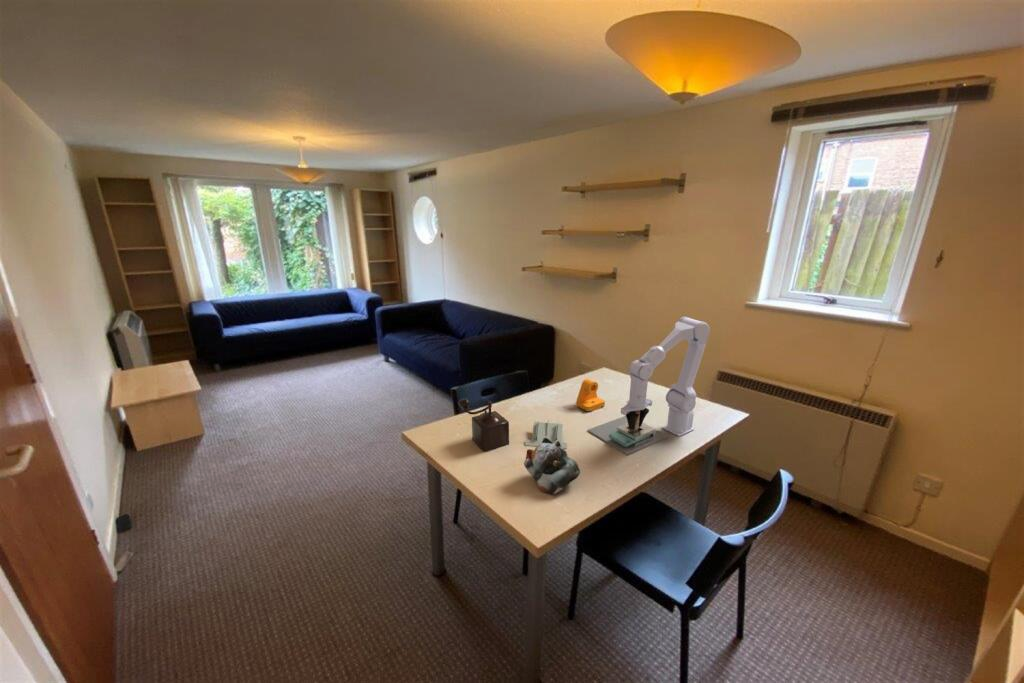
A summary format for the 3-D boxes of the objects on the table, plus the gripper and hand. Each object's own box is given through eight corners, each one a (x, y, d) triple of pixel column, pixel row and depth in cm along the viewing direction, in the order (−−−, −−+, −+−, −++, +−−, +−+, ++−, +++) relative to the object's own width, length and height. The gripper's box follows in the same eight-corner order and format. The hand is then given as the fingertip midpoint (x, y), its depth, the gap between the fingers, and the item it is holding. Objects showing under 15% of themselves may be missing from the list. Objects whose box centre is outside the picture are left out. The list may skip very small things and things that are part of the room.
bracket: (587, 413, 168) (589, 387, 165) (576, 406, 174) (577, 381, 171) (605, 406, 174) (607, 381, 171) (593, 400, 180) (595, 376, 176)
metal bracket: (529, 416, 154) (568, 419, 151) (529, 427, 157) (567, 430, 155) (524, 444, 142) (566, 448, 140) (525, 455, 145) (566, 459, 143)
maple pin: (633, 430, 149) (635, 408, 146) (639, 433, 146) (641, 411, 144) (628, 432, 148) (629, 410, 145) (634, 435, 145) (635, 413, 142)
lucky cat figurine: (546, 501, 115) (526, 457, 115) (532, 491, 127) (514, 452, 127) (587, 475, 120) (568, 433, 120) (571, 468, 131) (553, 430, 131)
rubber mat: (626, 416, 165) (626, 415, 165) (667, 437, 149) (668, 436, 149) (587, 431, 154) (587, 429, 154) (627, 455, 138) (627, 454, 138)
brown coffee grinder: (495, 431, 154) (494, 388, 149) (509, 444, 145) (509, 399, 140) (458, 442, 146) (456, 397, 141) (471, 457, 137) (469, 410, 132)
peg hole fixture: (635, 428, 154) (636, 419, 153) (654, 438, 147) (655, 429, 146) (607, 439, 146) (608, 430, 145) (626, 451, 139) (627, 441, 138)
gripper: (642, 385, 149) (639, 417, 153) (615, 393, 142) (612, 427, 146) (658, 391, 144) (654, 425, 147) (630, 401, 136) (627, 436, 140)
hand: (634, 427), depth 146 cm, fingers closed on maple pin, 3 cm apart
